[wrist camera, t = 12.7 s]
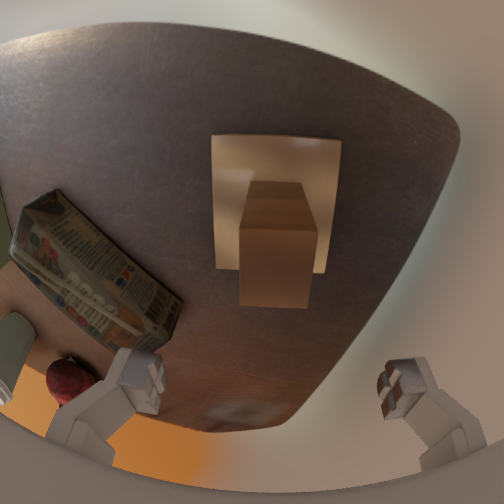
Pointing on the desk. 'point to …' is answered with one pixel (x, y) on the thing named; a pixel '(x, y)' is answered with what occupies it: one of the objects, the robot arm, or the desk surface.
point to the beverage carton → (91, 277)
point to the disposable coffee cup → (13, 351)
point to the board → (271, 169)
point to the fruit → (67, 380)
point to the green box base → (4, 235)
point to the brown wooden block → (276, 246)
